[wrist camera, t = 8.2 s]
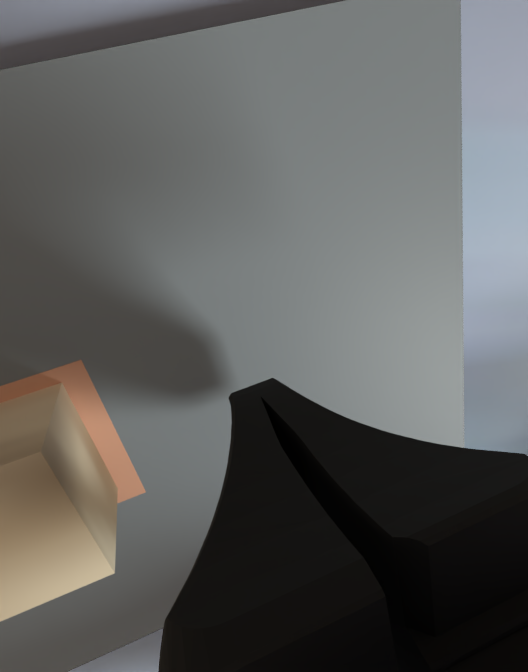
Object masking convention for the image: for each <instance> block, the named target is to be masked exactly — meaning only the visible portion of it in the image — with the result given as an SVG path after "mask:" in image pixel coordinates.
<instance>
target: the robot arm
mask: <svg viewBox="0 0 528 672" xmlns="http://www.w3.org/2000/svg"><path fill="white" fill-rule="evenodd" d="M229 401H230V405H231V418H232V425H231V441H230V449H229V456H228V463H227V469H226V473H225V478H224V482H223V486H222V490H221V494H220V498H219V501H218V504H217V507H216V510H215V513H214V517H213V519H212V522H211V525H210V528H209V530H208V533H207V535H206V538H205V540H204V542H203V545H202V547H201V549H200V552H199V554H198V556H197V559H196V561H195V563H194V566H193V568H192V570H191V572H190V574H189V576H188V578H187V580H186V582H185V584H184V585H183V587H182V589H181V591H180V593H179V595H178V597H177V599H176V600H175V602H174V604H173V606H172V608H171V610H170V612H169V613H168V615H167V617H166V619H165V622H164V628H163V635H162V643H161V650H160V661H159V672H528V456H527V455H525V454H519V453H509V452H498V451H487V450H476V449H468V448H461V447H455V446H448V445H442V444H437V443H431V442H426V441H421V440H417V439H413V438H409V437H405V436H401V435H397V434H393V433H390V432H386V431H383V430H380V429H377V428H374V427H371V426H368V425H365V424H362V423H359V422H356V421H354V420H351V419H349V418H346V417H344V416H342V415H340V414H337V413H335V412H333V411H331V410H329V409H327V408H325V407H323V406H321V405H319V404H317V403H315V402H313V401H312V400H310V399H308V398H306V397H304V396H303V395H301V394H299V393H297V392H296V391H294V390H292V389H291V388H289V387H288V386H286V385H284V384H283V383H281V382H280V381H278V380H276V379H274V378H271V379H268V380H265V381H262V382H260V383H257V384H254V385H252V386H249V387H246V388H244V389H241V390H238V391H236V392H233V393H231V394H230V396H229Z"/></svg>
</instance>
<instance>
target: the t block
mask: <svg viewBox="0 0 528 672" xmlns="http://www.w3.org/2000/svg"><path fill="white" fill-rule="evenodd" d="M117 497H118V488H117V486H116V484H115V482H114V480H113V478H112V476H111V474H110V473H109V471H108V469H107V467H106V465H105V463H104V461H103V459H102V457H101V456H100V454H99V452H98V450H97V448H96V446H95V444H94V442H93V440H92V439H91V437H90V435H89V433H88V431H87V429H86V427H85V425H84V423H83V421H82V420H81V418H80V416H79V414H78V412H77V410H76V408H75V406H74V404H73V403H72V401H71V399H70V397H69V395H68V393H67V391H66V389H65V387H64V386H63V384H62V383H59V384H56V385H53V386H50V387H47V388H44V389H41V390H38V391H35V392H32V393H29V394H26V395H23V396H20V397H17V398H14V399H11V400H8V401H5V402H2V403H0V622H1V621H3V620H5V619H8V618H10V617H12V616H15V615H17V614H20V613H22V612H24V611H27V610H29V609H31V608H34V607H36V606H38V605H41V604H43V603H46V602H48V601H50V600H53V599H55V598H57V597H60V596H62V595H64V594H67V593H69V592H72V591H74V590H76V589H79V588H81V587H83V586H86V585H88V584H91V583H93V582H95V581H98V580H100V579H102V578H105V577H107V576H109V575H112V574H114V573H115V555H116V526H117Z"/></svg>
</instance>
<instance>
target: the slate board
mask: <svg viewBox="0 0 528 672" xmlns="http://www.w3.org/2000/svg"><path fill="white" fill-rule="evenodd" d="M271 378H274V379H276V380H278V381H280V382H281V383H283V384H284V385H286V386H288V387H289V388H291V389H292V390H294V391H296V392H297V393H299V394H301V395H303V396H304V397H306V398H308V399H310V400H312V401H313V402H315V403H317V404H319V405H321V406H323V407H325V408H327V409H329V410H331V411H333V412H335V413H337V414H340V415H342V416H344V417H346V418H349V419H351V420H354V421H356V422H359V423H362V424H365V425H368V426H371V427H374V428H377V429H380V430H383V431H386V432H390V433H393V434H397V435H401V436H405V437H409V438H413V439H417V440H421V441H426V442H431V443H437V444H442V445H448V446H455V447H461V448H464V355H463V231H462V108H461V0H345V1H340V2H335V3H330V4H325V5H320V6H315V7H310V8H305V9H300V10H295V11H290V12H285V13H281V14H276V15H271V16H266V17H261V18H256V19H251V20H246V21H241V22H236V23H231V24H226V25H221V26H216V27H211V28H206V29H201V30H196V31H191V32H186V33H181V34H176V35H171V36H166V37H161V38H156V39H151V40H146V41H141V42H136V43H131V44H126V45H121V46H116V47H111V48H106V49H101V50H96V51H91V52H86V53H82V54H77V55H72V56H67V57H62V58H57V59H52V60H47V61H42V62H37V63H32V64H27V65H22V66H17V67H12V68H7V69H2V70H0V403H2V402H5V401H8V400H11V399H14V398H17V397H20V396H23V395H26V394H29V393H32V392H35V391H38V390H41V389H44V388H47V387H50V386H53V385H56V384H59V383H62V384H63V386H64V387H65V389H66V391H67V393H68V395H69V397H70V399H71V401H72V403H73V404H74V406H75V408H76V410H77V412H78V414H79V416H80V418H81V420H82V421H83V423H84V425H85V427H86V429H87V431H88V433H89V435H90V437H91V439H92V440H93V442H94V444H95V446H96V448H97V450H98V452H99V454H100V456H101V457H102V459H103V461H104V463H105V465H106V467H107V469H108V471H109V473H110V474H111V476H112V478H113V480H114V482H115V484H116V486H117V488H118V497H117V526H116V555H115V573H114V574H112V575H109V576H107V577H105V578H102V579H100V580H98V581H95V582H93V583H91V584H88V585H86V586H83V587H81V588H79V589H76V590H74V591H72V592H69V593H67V594H64V595H62V596H60V597H57V598H55V599H53V600H50V601H48V602H46V603H43V604H41V605H38V606H36V607H34V608H31V609H29V610H27V611H24V612H22V613H20V614H17V615H15V616H12V617H10V618H8V619H5V620H3V621H1V622H0V672H68V671H70V670H72V669H74V668H76V667H79V666H81V665H83V664H85V663H87V662H89V661H92V660H94V659H96V658H98V657H100V656H103V655H105V654H107V653H109V652H111V651H114V650H116V649H118V648H120V647H122V646H125V645H127V644H129V643H131V642H133V641H136V640H138V639H140V638H142V637H144V636H147V635H149V634H151V633H153V632H155V631H158V630H160V629H162V628H164V622H165V619H166V617H167V615H168V613H169V612H170V610H171V608H172V606H173V604H174V602H175V600H176V599H177V597H178V595H179V593H180V591H181V589H182V587H183V585H184V584H185V582H186V580H187V578H188V576H189V574H190V572H191V570H192V568H193V566H194V563H195V561H196V559H197V556H198V554H199V552H200V549H201V547H202V545H203V542H204V540H205V538H206V535H207V533H208V530H209V528H210V525H211V522H212V519H213V517H214V513H215V510H216V507H217V504H218V501H219V498H220V494H221V490H222V486H223V482H224V478H225V473H226V469H227V463H228V456H229V449H230V441H231V425H232V418H231V405H230V401H229V396H230V394H231V393H233V392H236V391H238V390H241V389H244V388H246V387H249V386H252V385H254V384H257V383H260V382H262V381H265V380H268V379H271Z"/></svg>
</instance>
